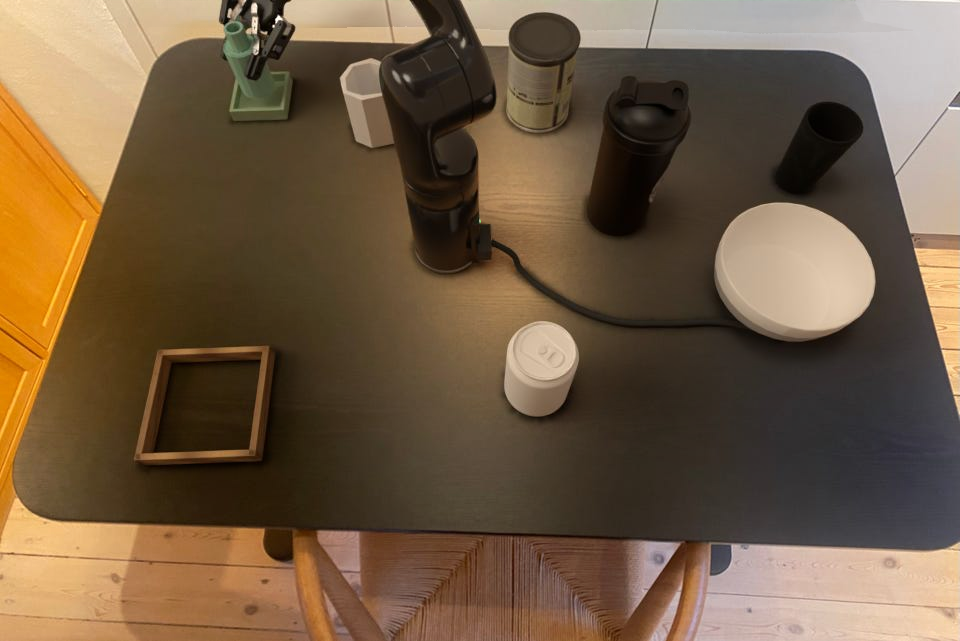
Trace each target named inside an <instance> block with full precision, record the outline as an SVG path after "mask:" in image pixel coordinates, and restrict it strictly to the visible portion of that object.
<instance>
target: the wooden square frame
mask: <svg viewBox="0 0 960 641" xmlns="http://www.w3.org/2000/svg"><path fill="white" fill-rule="evenodd" d="M255 360H260V366H259V374H258V380H257V388H256V395H255V403H254V412H253V418H252V425H251V435H250V441H249V447H248V449H227V450H226V449H225V450H223V449H222V450H200V451H199V450H198V451H174V452H155V447H156V442H157V436H158V432H159V428H160V423H161V418H162V413H163V407H164V402H165V398H166V393H167V388H168V384H169V379H170V374H171V369H172V364H173V363H174V364H177V363H203V362H229V361H255ZM275 362H276V352H275V351H274V350H273V349H272V348H271V346H270V345H255V346H230V347H229V346H227V347H200V348H199V347H198V348H172V349H170V348H169V349H158V350H157V353H156V357H155V361H154V366H153V370H152V377H151V379H150V385H149V389H148V393H147V398H146V403H145V407H144V412H143V416H142V421H141V424H140V425H141V426H140V430H139V434H138V440H137V444H136V448H135V453H134V457H133V461H134V462H136V463H139V464H140V465H143V466H164V465H185V464H186V465H189V464H215V463H217V464H218V463H241V462H243V463H244V462H245V463H246V462H262V461H263V458H264V457H263V456H264V450H265V441H266V432H267V425H268V416H269V409H270V400H271V392H272V384H273V376H274V368H275Z"/></svg>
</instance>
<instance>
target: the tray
mask: <svg viewBox="0 0 960 641" xmlns="http://www.w3.org/2000/svg"><path fill="white" fill-rule="evenodd" d="M270 72H271V75H272V77H273V80H274V84H275V87H274V90H273V91H272V93H270V94H269V95H268V96H266V97H264V98H260V99H252V98H249V97H247V96H245V95H244V93H243V92H242V90H241V88H240V85H239V83H238V81H237V79H236V78H235V80H234V85H233V90H232V94H231V100H230V104H229V109H228V112H229V114H230V117H231V119H232V120H233V122H248V121H249V122H250V121H251V122H252V121H284V120H288V118H289V112H290V104H291V97H292V90H293V82H294V80H293V78H292V75H291V72H290V71H289V70H287V71H285V70H284V71H270Z"/></svg>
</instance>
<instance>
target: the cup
mask: <svg viewBox="0 0 960 641" xmlns="http://www.w3.org/2000/svg"><path fill="white" fill-rule="evenodd" d="M863 134H864V123H863V120H862V119H861V117H860V115H859V114H858V113H857V112H856V111H855V110H854V109H852V108H851V107H849V106H847V105H845V104H843V103H840V102H836V101H819V102H816V103H814V104H811V105H810V106H809V107H808V108H807V109H806V110H805V113H804V114H803V117H802V119H801V121H800V123H799V125H798V127H797V129H796V131H795V132H794V135H793V137H792V139H791V141H790V143H789V145H788V147H787V149H786V150H785V153H784V154H783V157H782V159H781V161H780V163H779V165H778V167H777V169H776V171H775V174H774V180H775V183H776V185H777V186H778V188H780V189H781V190H782V191H784V192H786V193H789V194H791V195H803V194H806V193H808V192H809V191H810V190H811V189H812V188H813V187H814V186H815V185H816V184H817V183H818V182H819V181H820V180H821V179H822V177H823V176H825V175H826V174H827V173H828V172H829V171H830V170H831V168H832V167H833V166H834V165H835V164H836V163H837V162H838V161H839V160H840V159H841V158H842V157H843V156H844V154H846V152H847V151H848V150H849V149H850V148H851V147H853V145H854V144H855V143H856V142H857V141H859V139H860V138H861V137H862V135H863Z"/></svg>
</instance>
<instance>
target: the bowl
mask: <svg viewBox="0 0 960 641" xmlns="http://www.w3.org/2000/svg"><path fill="white" fill-rule="evenodd" d="M716 249H717V250H716V253H715V259H714V264H713V265H714V267H713V278H714V284H715V288H716V290H717V293H718V295H719V298H720V299H721V301H722V302H723V304H724V305H725V307H726V309H727V310H728V312H730V313H731V314H732V315H733V316H734V318H735V319H736V321H740V322H741V323H743V324H744V325H745V326H746V327H748V328H750V329H752V330H754V331H755V332H754V333H757V334H760V335H763V336H765V337H768V338H770V339H774V340H779V341H785V342H807V341H812V340H817V339H820V338H823V337H826V336H829V335H831V334H834V333H836V332H839V331H840V330H842V329H844V328H845V327H847V326H848V325H850V324H852V323H853V322H855V321H856V320H857V319H858V318H860V317H861V316H862V315H863V314H864V313H865V312H866V310H867V309H868V308H869V307H870V304H871V301H872V300H873V297H874V294H875V288H876V274H875V273H876V272H875V268H874V264H873V262H872V258H871V256H870V255H869V253H868V250H867V249H866V247H865V246H864V244H863V243H862V242H861V241H860V239H859V238H858V237H857V235H856V234H855V233H854V232H853V231H851V230H850V229H849V227H847V226H846V225H845V224H844V223H842V222H840V221H839V220H838V219H836V218H835V217H833V216H832V215H829V214H827V213H825V212H824V211H821V210H819V209H817V208H814V207H810V206H807V205H804V204H800V203H799V204H798V203H792V202H770V203H764V204H760V205H757V206H754V207H751V208H748V209H747V210H745V211H743V212H741V213H740V214H739V215H737V216H735V218H734V219H733V220H732V221H731V222H730V223H729V224H728V225H727V228H726V229H725V231H724V232H723V235H722V237H721V239H720V241H719V243H718V246H717V248H716Z"/></svg>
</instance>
